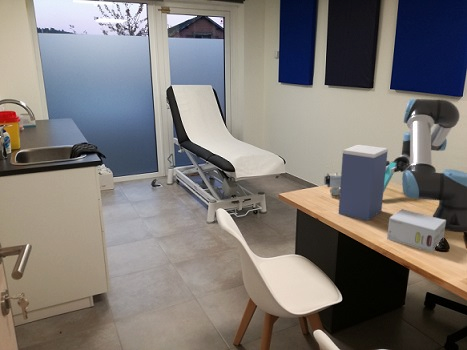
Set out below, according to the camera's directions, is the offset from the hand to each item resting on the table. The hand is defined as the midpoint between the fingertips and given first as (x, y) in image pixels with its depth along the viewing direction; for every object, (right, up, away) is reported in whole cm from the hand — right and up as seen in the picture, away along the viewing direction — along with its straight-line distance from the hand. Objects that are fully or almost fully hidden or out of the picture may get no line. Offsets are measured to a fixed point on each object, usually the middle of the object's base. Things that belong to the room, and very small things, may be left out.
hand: (387, 170), depth 200 cm
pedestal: (-21, -19, -21) cm, 36 cm away
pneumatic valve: (-26, -13, +4) cm, 29 cm away
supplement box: (-9, -28, -50) cm, 58 cm away
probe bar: (-1, -6, +1) cm, 6 cm away
